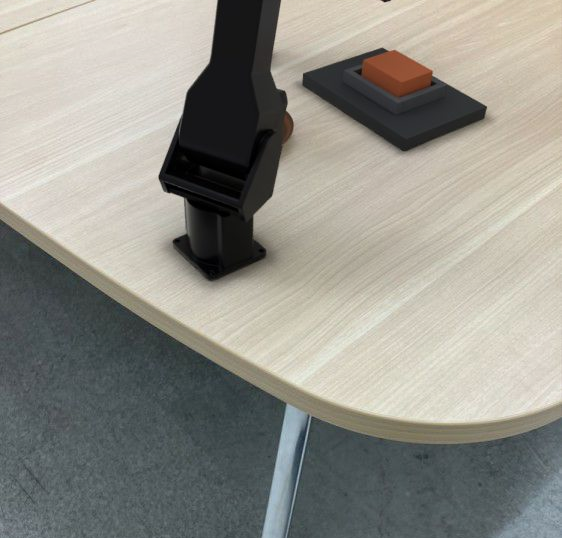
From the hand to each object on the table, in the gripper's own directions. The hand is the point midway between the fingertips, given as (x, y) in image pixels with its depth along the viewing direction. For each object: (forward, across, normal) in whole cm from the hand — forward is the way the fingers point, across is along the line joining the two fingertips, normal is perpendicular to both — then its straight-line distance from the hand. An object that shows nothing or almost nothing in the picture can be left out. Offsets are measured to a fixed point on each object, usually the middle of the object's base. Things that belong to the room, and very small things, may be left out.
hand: (384, 0), depth 86 cm
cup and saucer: (+11, +19, -1) cm, 22 cm away
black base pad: (+11, -1, +2) cm, 12 cm away
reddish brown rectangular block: (+10, -1, +2) cm, 10 cm away
